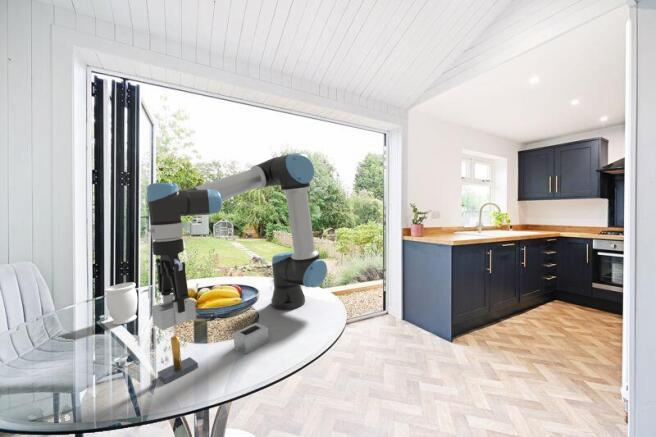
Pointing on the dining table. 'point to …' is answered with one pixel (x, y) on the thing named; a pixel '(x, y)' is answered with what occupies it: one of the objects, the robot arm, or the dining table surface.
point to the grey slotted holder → (251, 337)
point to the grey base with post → (176, 364)
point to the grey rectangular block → (171, 313)
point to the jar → (122, 302)
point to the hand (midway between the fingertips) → (175, 319)
